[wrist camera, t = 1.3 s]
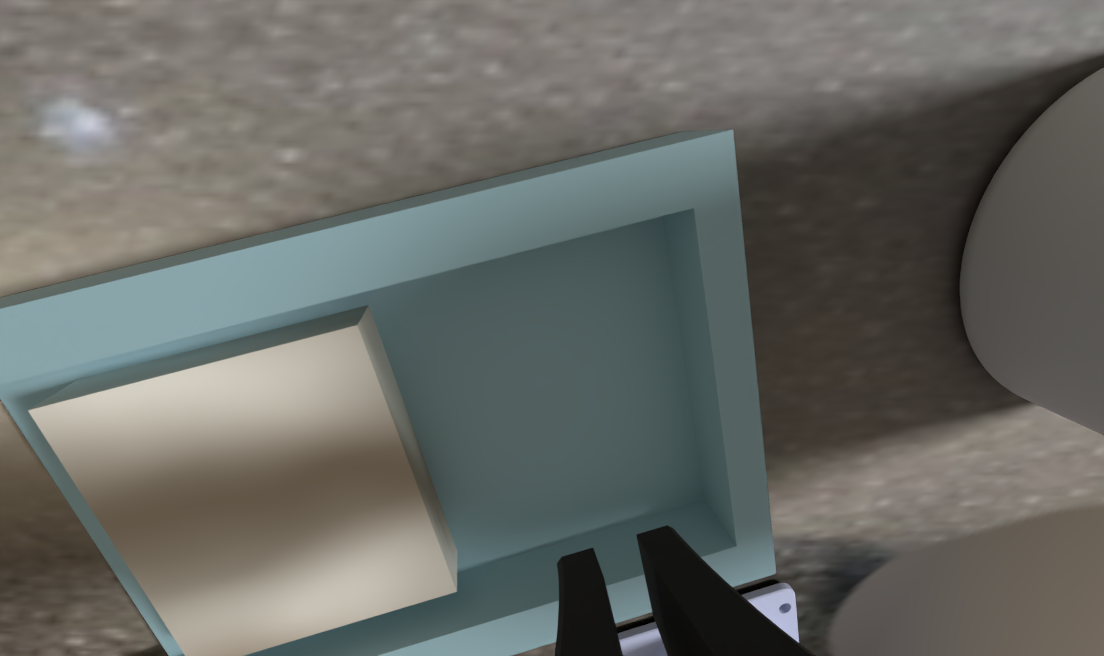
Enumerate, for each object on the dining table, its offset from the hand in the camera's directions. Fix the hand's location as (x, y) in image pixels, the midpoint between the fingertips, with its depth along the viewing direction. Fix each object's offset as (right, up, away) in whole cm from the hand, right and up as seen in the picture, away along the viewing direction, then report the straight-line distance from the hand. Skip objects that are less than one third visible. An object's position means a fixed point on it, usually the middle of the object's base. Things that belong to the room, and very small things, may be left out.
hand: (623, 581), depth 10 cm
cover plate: (-9, 0, +7) cm, 11 cm away
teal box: (-6, +2, +8) cm, 10 cm away
